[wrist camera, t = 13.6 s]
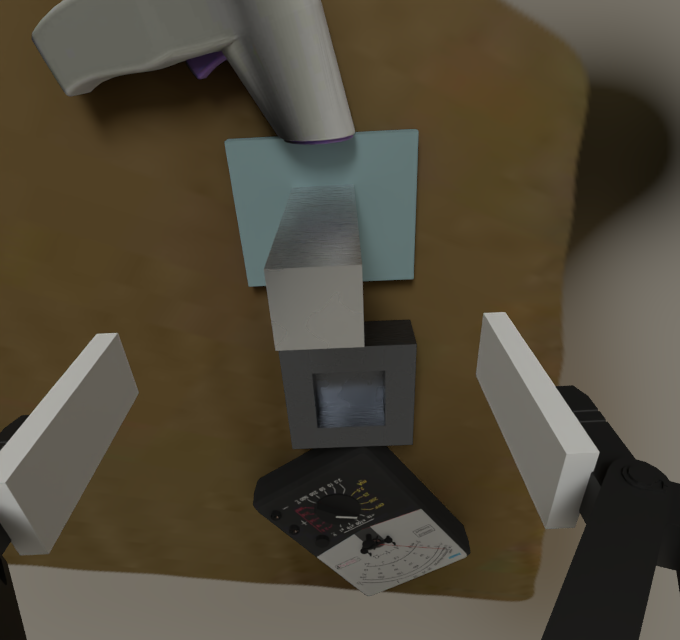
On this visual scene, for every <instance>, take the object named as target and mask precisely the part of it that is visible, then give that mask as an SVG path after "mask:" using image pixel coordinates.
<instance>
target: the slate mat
mask: <svg viewBox="0 0 680 640" xmlns="http://www.w3.org/2000/svg"><path fill="white" fill-rule="evenodd" d="M224 143H225V148H226V154H227V160H228V166H229V172H230V178H231V184H232V190H233V196H234V202H235V208H236V214H237V220H238V226H239V232H240V237H241V243H242V249H243V255H244V261H245V267H246V273H247V279H248V285H249V287H250V286H266V282H265V275H264V267H265V264H266V261H267V259H268V256H269V253H270V250H271V247H272V244H273V241H274V239H275V236H276V233H277V230H278V227H279V224H280V221H281V219H282V216H283V213H284V210H285V207H286V204H287V201H288V198H289V196H290V193H291V190H292V187H309V186H328V185H348V184H354V191H355V201H356V210H357V220H358V230H359V240H360V249H361V259H362V280H363V281H381V280H403V279H414V249H415V219H416V189H417V159H418V130H417V129H405V130H386V131H368V132H355V133H354V134H353V137H352V138H351V139H349V140H346V141H342V142H336V143H328V144H313V145H302V144H291V143H286V142H285V141H284V139H281V138H279V137H278V136H276V137H257V138H239V139H227V140H226V141H225V142H224Z"/></svg>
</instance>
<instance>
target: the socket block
mask: <svg viewBox="0 0 680 640" xmlns="http://www.w3.org/2000/svg"><path fill="white" fill-rule="evenodd" d="M416 347H417V344H416V340H415V336H414V332H413V329H412V325H411V321H410V320H391V321H368V322H364V347H353V348H329V349H306V350H282V351H279V357H280V364H281V371H282V378H283V385H284V392H285V399H286V406H287V413H288V420H289V427H290V434H291V441H292V448H293V449H306V448H334V447H361V446H388V445H413V421H414V396H415V371H416Z"/></svg>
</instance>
